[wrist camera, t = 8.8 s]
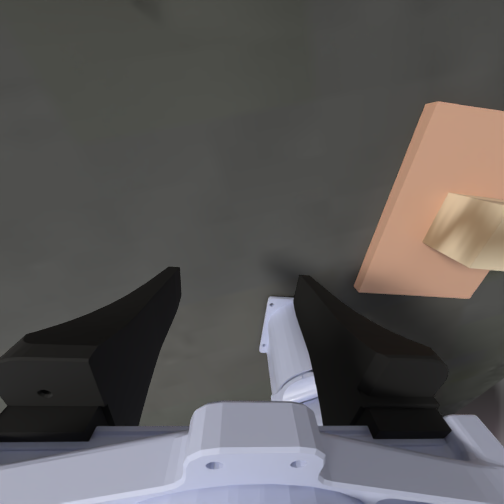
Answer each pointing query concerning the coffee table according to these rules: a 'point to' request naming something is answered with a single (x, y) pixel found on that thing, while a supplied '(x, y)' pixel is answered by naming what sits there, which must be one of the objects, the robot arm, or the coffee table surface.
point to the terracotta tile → (434, 202)
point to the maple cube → (470, 231)
